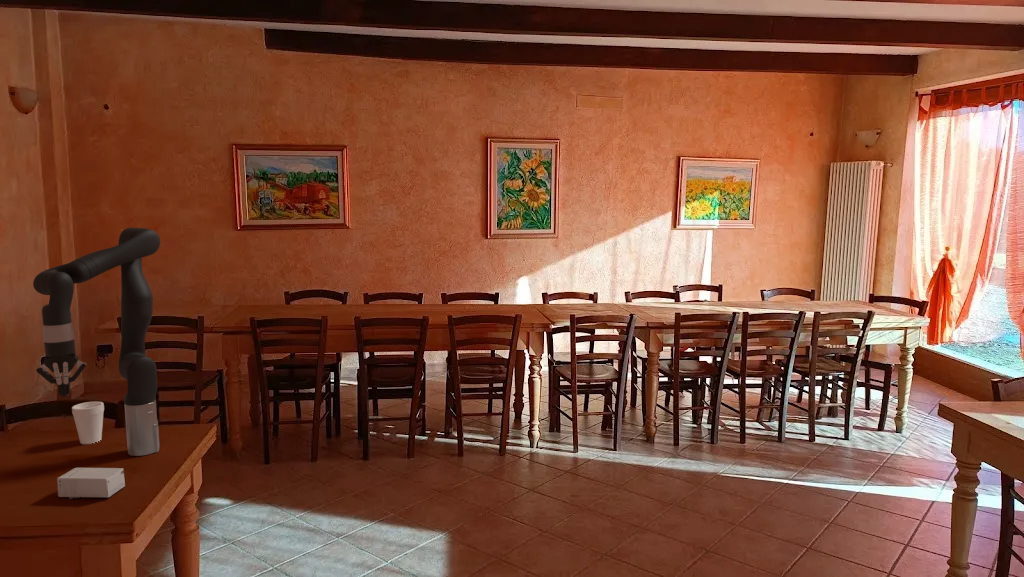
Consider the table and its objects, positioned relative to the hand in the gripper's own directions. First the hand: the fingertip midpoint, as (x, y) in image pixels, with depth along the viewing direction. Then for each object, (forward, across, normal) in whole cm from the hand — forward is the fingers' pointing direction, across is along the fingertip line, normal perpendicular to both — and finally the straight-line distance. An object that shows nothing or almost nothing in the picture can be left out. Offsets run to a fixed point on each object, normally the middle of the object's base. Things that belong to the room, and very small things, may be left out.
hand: (64, 395), depth 203 cm
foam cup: (+27, 0, -38) cm, 46 cm away
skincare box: (+23, 0, +10) cm, 25 cm away
